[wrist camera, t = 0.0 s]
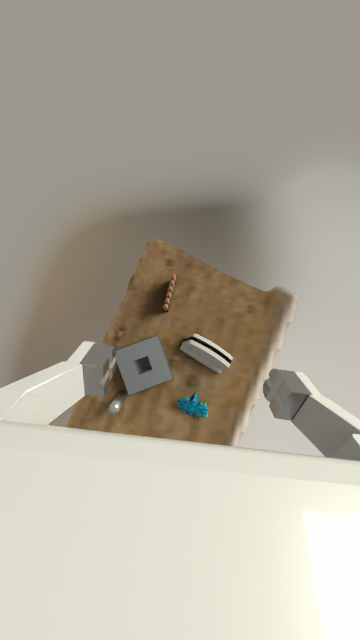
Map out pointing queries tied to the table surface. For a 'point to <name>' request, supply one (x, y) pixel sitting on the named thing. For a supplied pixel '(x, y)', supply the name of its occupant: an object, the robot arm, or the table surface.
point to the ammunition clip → (169, 293)
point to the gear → (193, 406)
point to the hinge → (206, 352)
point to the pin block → (143, 364)
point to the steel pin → (117, 403)
